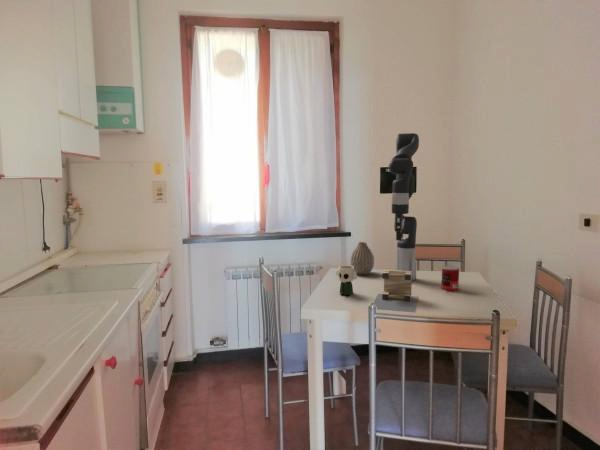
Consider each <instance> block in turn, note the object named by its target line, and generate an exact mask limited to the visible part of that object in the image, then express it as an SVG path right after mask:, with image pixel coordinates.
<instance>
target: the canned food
mask: <svg viewBox="0 0 600 450" xmlns="http://www.w3.org/2000/svg"><path fill="white" fill-rule="evenodd" d="M459 276H460V267H459V266H458V265H452V264H450V265H449V264H448V265H443V266H442V267H441V289H442V290H443V291H446V292H457V291H458V290H459V283H460V281H459V280H460V277H459Z"/></svg>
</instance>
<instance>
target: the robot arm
mask: <svg viewBox="0 0 600 450" xmlns="http://www.w3.org/2000/svg"><path fill="white" fill-rule="evenodd" d="M395 145H396V146H395V148H396V150H395V151H396V153H395V154H396V155H395V156H393V157H392V158H391V159H390V160H389V163H388V170H389V172H390V173H391V174H393V175H396V178H395V179H394V180H393V181H392V193H391V194H392V195H391V214H394V225H393V226H394V228H393V229H394V231H395V233H396V234H395V240H396V241H397V244H396V270H400V271H412V282H414V281H415V280H417V261H416V244H417V241H416V239H417V230H418V229H417V227H418V223H417V218H416V217H415V216H407V215H408V214H409V208H410V199H411V198H412V196H413V194H414V192H415V182H416V181H415V180H416V179H415V176H414V174H413V170H414V162H413V160H412V158H413V156H414V155H415V154H416V153H417V151H418V149H419V145H420V137H419V135H418V133H415V132H413V133H411V132H409V133H398V134H397V135H396V139H395ZM405 215H406V216H405ZM404 235H408V236H407V237H405V238H404V239H403V237H404Z"/></svg>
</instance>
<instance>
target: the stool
mask: <svg viewBox="0 0 600 450" xmlns="http://www.w3.org/2000/svg"><path fill="white" fill-rule="evenodd" d="M382 279H383V292H382V293H381V294H382V300H388V299H389V298H398V299H404V301H406V302H410V300H411V296H412V285H413V281H412V271H400V270H397V269H383V272H382Z"/></svg>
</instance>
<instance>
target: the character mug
mask: <svg viewBox="0 0 600 450" xmlns="http://www.w3.org/2000/svg"><path fill="white" fill-rule="evenodd" d="M335 272H336V275H335V276H337V277H338V280H339V281H340V285H339V294H340V295H345V296H350V295H352V294H353V293H354V287H353V283H352V282H353V281H354V280H357V277H358V274H357V273H356V272H354V267H353V266H351V265H347V264H346V265H340V266H338V269H336V271H335Z"/></svg>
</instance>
